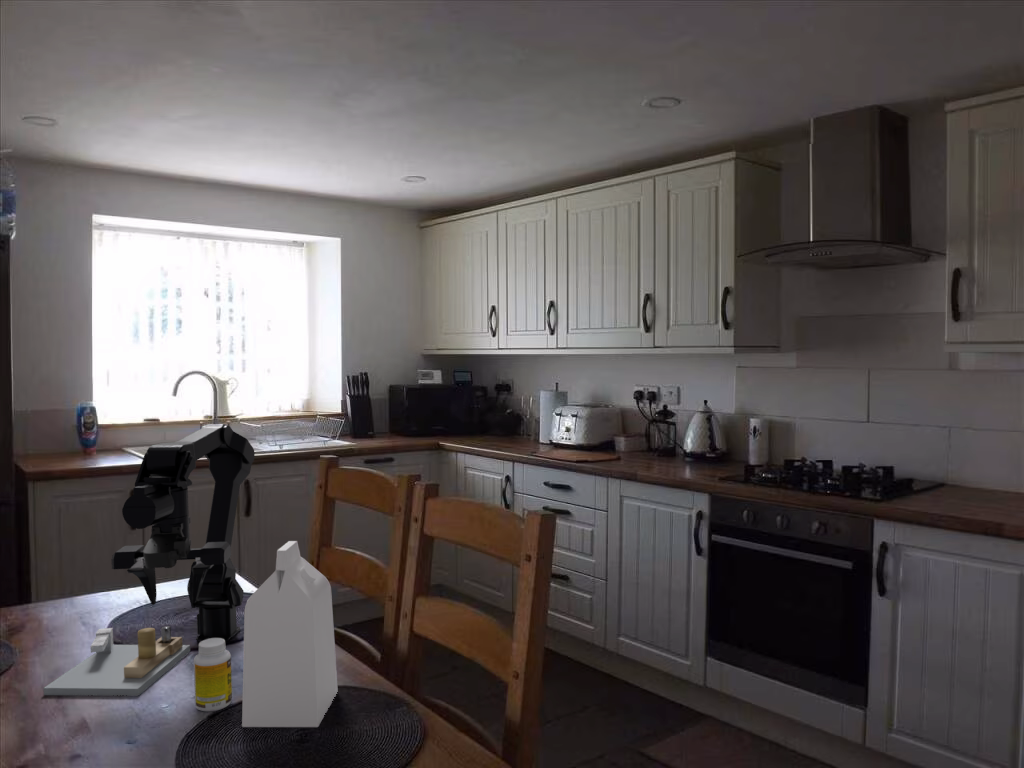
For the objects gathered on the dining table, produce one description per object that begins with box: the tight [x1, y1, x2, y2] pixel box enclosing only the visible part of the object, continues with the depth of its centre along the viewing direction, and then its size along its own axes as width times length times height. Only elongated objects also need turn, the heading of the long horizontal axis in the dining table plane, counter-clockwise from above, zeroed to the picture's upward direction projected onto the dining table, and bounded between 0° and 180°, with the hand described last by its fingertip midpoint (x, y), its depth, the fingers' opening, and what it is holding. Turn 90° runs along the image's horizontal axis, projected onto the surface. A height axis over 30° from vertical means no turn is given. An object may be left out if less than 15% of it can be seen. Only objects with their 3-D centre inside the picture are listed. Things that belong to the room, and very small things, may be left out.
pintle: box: [160, 625, 172, 643], centre depth 147 cm, size 2×2×4 cm
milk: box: [241, 540, 339, 728], centre depth 125 cm, size 12×12×26 cm
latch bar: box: [124, 627, 183, 678], centre depth 142 cm, size 14×4×6 cm, turn 177°
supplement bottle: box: [193, 638, 233, 712], centre depth 127 cm, size 6×6×10 cm
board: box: [43, 644, 191, 697], centre depth 141 cm, size 16×19×1 cm
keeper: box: [90, 627, 114, 654], centre depth 145 cm, size 2×8×4 cm, turn 17°
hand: (174, 603), depth 141 cm, fingers open, 7 cm apart
